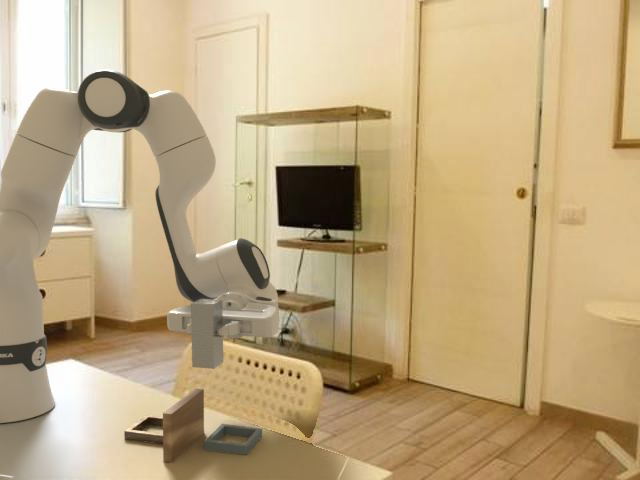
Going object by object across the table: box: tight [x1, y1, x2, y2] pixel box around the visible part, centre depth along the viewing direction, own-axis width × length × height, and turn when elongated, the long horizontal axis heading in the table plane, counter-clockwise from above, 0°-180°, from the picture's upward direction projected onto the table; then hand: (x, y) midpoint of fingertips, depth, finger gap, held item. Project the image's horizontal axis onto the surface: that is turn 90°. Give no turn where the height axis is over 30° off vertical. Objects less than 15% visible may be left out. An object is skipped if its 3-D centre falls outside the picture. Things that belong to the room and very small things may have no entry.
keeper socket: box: [203, 423, 263, 456], centre depth 106 cm, size 8×8×2 cm
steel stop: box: [190, 299, 224, 370], centre depth 105 cm, size 4×4×11 cm
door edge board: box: [162, 388, 205, 463], centre depth 104 cm, size 2×12×8 cm, turn 166°
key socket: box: [123, 414, 163, 445], centre depth 109 cm, size 8×8×2 cm
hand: (205, 331), depth 105 cm, fingers closed on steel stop, 4 cm apart
